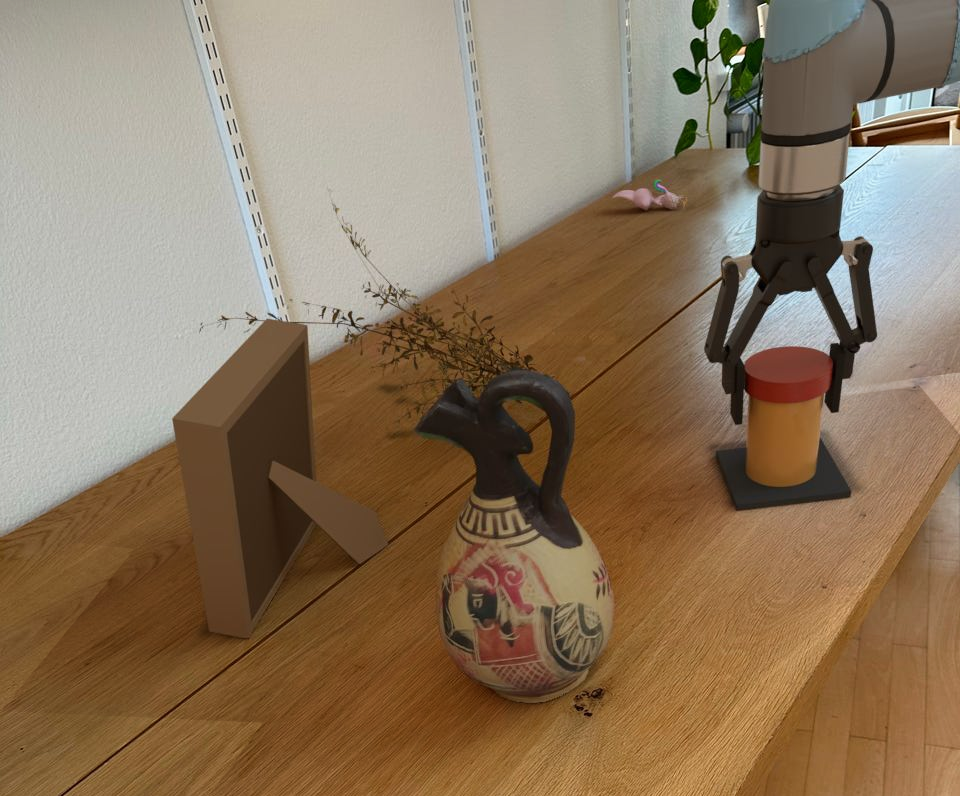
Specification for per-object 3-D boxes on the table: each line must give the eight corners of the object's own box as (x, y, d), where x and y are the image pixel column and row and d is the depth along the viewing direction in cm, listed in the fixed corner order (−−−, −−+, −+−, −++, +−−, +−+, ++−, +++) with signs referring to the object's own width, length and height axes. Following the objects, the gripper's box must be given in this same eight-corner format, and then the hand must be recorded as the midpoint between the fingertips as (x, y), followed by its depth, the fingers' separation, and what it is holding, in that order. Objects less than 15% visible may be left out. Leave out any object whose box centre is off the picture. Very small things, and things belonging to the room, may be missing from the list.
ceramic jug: (425, 719, 80) (341, 411, 61) (486, 611, 91) (431, 319, 72) (610, 752, 74) (581, 420, 55) (654, 632, 84) (642, 319, 65)
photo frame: (212, 638, 94) (114, 421, 78) (286, 522, 110) (218, 322, 94) (344, 641, 91) (269, 413, 75) (401, 520, 106) (349, 311, 90)
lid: (818, 361, 97) (819, 341, 96) (841, 397, 91) (844, 376, 89) (735, 372, 98) (736, 352, 97) (752, 408, 92) (753, 387, 90)
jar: (806, 448, 103) (815, 348, 96) (824, 482, 98) (835, 378, 90) (739, 457, 104) (742, 358, 97) (753, 491, 98) (758, 388, 91)
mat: (820, 443, 105) (820, 437, 105) (850, 497, 96) (851, 491, 96) (716, 456, 107) (716, 450, 106) (736, 510, 97) (736, 504, 97)
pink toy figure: (686, 209, 184) (614, 201, 187) (691, 178, 180) (618, 170, 183) (681, 219, 179) (608, 210, 183) (686, 187, 175) (611, 179, 179)
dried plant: (628, 255, 113) (302, 120, 115) (557, 386, 93) (167, 221, 95) (558, 439, 136) (289, 325, 138) (490, 574, 117) (179, 439, 119)
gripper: (911, 158, 84) (878, 384, 98) (672, 195, 86) (674, 410, 100) (941, 179, 78) (901, 415, 92) (685, 217, 80) (685, 442, 95)
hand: (783, 413), depth 96 cm, fingers open, 9 cm apart
